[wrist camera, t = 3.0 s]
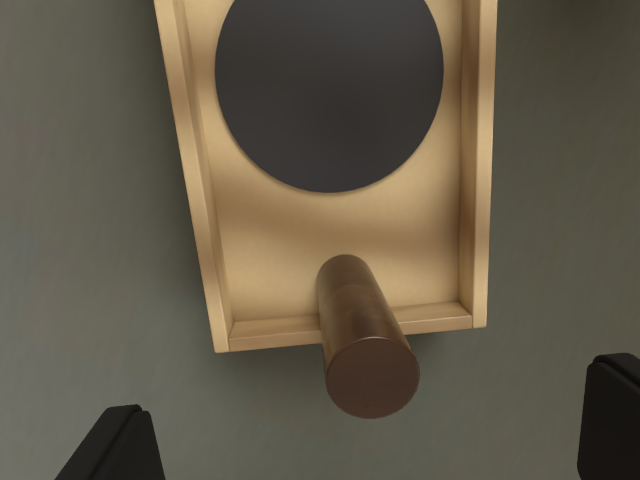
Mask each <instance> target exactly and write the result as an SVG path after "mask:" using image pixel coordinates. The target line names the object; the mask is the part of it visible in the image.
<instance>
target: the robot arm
mask: <svg viewBox="0 0 640 480" xmlns="http://www.w3.org/2000/svg"><path fill="white" fill-rule="evenodd" d="M577 468H578V473H579V475H580V478H581V480H640V359H638V358H637V357H635V356H634V355H631V354H629V353H616V354H607V355H599V356H596V357H595V358H594V360H593V363H592V364H590V365H589V366H588V368H587V375H586V384H585V394H584V403H583V413H582V423H581V432H580V442H579V451H578V461H577ZM55 480H165V476H164V472H163V467H162V463H161V458H160V454H159V450H158V445H157V441H156V436H155V432H154V428H153V423H152V419H151V415H150V413H149V412H148V411H142V408H141V407H140V406H139V405H137V404H135V405H125V406H116V407H109V408H107V409H106V410H105V411H104V412H103V414H102V415H101V416H100V418H99V419H98V420H97V422H96V423H95V425H94V426H93V427H92V429H91V430H90V431H89V433H88V434H87V436H86V437H85V438H84V440H83V441H82V442H81V444H80V445H79V447H78V448H77V449H76V451H75V452H74V454H73V455H72V456H71V458H70V459H69V460H68V462H67V463H66V465H65V466H64V467H63V469H62V470H61V471H60V473H59V474H58V476H57V477H56V478H55Z"/></svg>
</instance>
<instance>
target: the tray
mask: <svg viewBox="0 0 640 480" xmlns="http://www.w3.org/2000/svg"><path fill="white" fill-rule="evenodd" d="M154 6H155V12H156V17H157V23H158V29H159V35H160V40H161V46H162V52H163V58H164V63H165V69H166V75H167V80H168V86H169V92H170V98H171V103H172V109H173V115H174V121H175V126H176V132H177V138H178V144H179V149H180V155H181V161H182V166H183V172H184V178H185V184H186V189H187V195H188V201H189V207H190V212H191V218H192V224H193V230H194V235H195V241H196V247H197V252H198V258H199V264H200V270H201V275H202V281H203V287H204V293H205V298H206V304H207V310H208V316H209V321H210V327H211V333H212V339H213V344H214V350H215V353H222V352H229V351H230V352H234V351H244V350H255V349H265V348H276V347H286V346H296V345H307V344H317V343H322V349H323V360H324V371H325V382H326V388H327V391H328V394H329V396H330V398H331V399H332V401H333V402H334V403H335V404H336V405H337V406H338V407H339V408H340V409H341V410H342V411H344V412H346V413H347V414H350V415H352V416H355V417H358V418H364V419H376V418H382V417H385V416H388V415H391V414H393V413H395V412H397V411H399V410H400V409H401V408H403V407H404V406H405V405H406V404H407V403H408V402H409V401H410V400H411V398H412V397H413V396H414V394H415V392H416V390H417V387H418V383H419V377H420V371H419V365H418V362H417V359H416V357H415V355H414V353H413V351H412V349H411V347H410V345H409V344H408V342H407V340H406V338H405V336H404V335H410V334H421V333H431V332H441V331H452V330H462V329H471V328H481V327H486V317H487V288H488V258H489V229H490V200H491V171H492V142H493V112H494V83H495V54H496V25H497V0H154Z"/></svg>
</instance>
